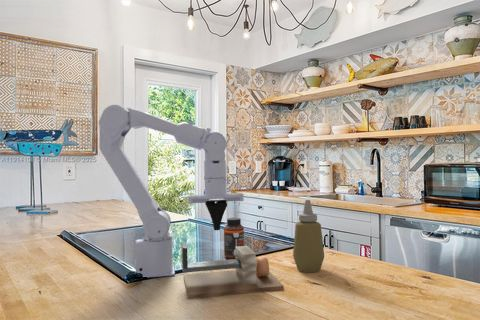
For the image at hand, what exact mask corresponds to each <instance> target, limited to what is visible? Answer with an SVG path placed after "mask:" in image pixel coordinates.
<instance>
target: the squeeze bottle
mask: <svg viewBox="0 0 480 320" xmlns="http://www.w3.org/2000/svg"><path fill="white" fill-rule="evenodd" d="M294 226H295V227H294V228H295V229H294V239H293V250H292V251H293V252H292V257H293V260H294V263H295V267H296V269H297V270H298V271H300V272H304V273H316V272H319V271H321V269H322V266H323V262H324V259H325V248H324V240H323V232H322V224H321V223H320V222H318V214H317V213H314V211H313V207H312V204H311V200H310V199H305V201H304V206H303V211H302V212H301V213H299V214H298V221H297V222H296V223H295V225H294Z"/></svg>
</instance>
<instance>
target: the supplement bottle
mask: <svg viewBox="0 0 480 320" xmlns="http://www.w3.org/2000/svg"><path fill="white" fill-rule="evenodd" d="M238 246H245V228H244V226H243V225H242V224H241V218H240V217H229V218H227V220H226V225H225V226H224V227H223V249H224V250H223V252H224V253H223V254H224V257H225V258H228V259H236V255H235V247H238Z"/></svg>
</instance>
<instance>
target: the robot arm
mask: <svg viewBox="0 0 480 320" xmlns="http://www.w3.org/2000/svg"><path fill="white" fill-rule="evenodd" d="M125 108H126V109H125ZM125 108H124V107H123V106H121V105H119V104H111V105H108V106H107V107H106V108H104V110H103V111H102V113H101V116H100V118H99V120H98V126H99V140H98V141H99V145H98V146H99V147H98V148H99V150H100V152H101V154H102V156H103V158H105V160H106V162H107V164H108V165H109V167H110V168H111V170H112V171H113V173H114V175H115V176H116V177H117V180H118V181H119V183H120V185H121V186H122V188H123V189H124V191H125V192H126V194H127V195H128V197H129V199H130V201H131V202H132V203H133V205H134V207H135V209H137V214H138V216H139V218H140V221H141V222H142V225H143V233H144V235H143V237H142V238H141V239H135V243H134V245H135V246H134V251H135V252H134V256H135V257H134V258H135V259H134V260H135V261H134V270H135V273H136V272H139V273H142V274H143V277H147V278H157V277H158V278H160V277H170V276H175V273H176V272H175V266H174V264H173V261H174V260H173V235H172V234H171V233H170V227H171V222H172V221H171V216H170V215H169V213H168V212H166V211H165V210H164V209H162V208H161V206H160V205H159V204H158V202H157V201H156V200H155V199H154V197H153V196H152V194H151V192H150V191H149V189H148V188H147V186H146V184H145V183H144V182H143V180H142V179H141V177H140V175H139V173H138V171H137V170H136V168H135V167H134V165H133V164H132V162H131V161H130V159H129V158H128V156H127V154H126V152H125V151H124V150H123V147H122V146H123V144H124V140H125V138H126V136H127V134H128V133H129V132H130V131H131V129H134V130H137V129H140V128H147V129H151V130H154V131H158V132H159V133H164V134H167V135H170V136H173V138H174V139H175V141H176V143H178V144H181V145H185V146H187V147H189V148H193V149H196V150H199V151H201V150H202V149H203V150H204V161H203V163H204V164H203V165H204V167H203V169H204V172H203V173H204V175H203V176H204V194H194V195H187V200H188V201H187V203H188V205H192V204H202V203H204V205H205V207H206V209H207V210H208V211H207V212H208V213H209V216H210V219H211V221H212V226H213V230H214V231H221V230H220V229H221V224H222V221H223V217H224V213H225V211H226V210H227V208H228V202H244V200H245V199H244V198H245V197H244V193H242V192H239V193H233V192H232V193H227V160H226V151H225V150H226V149H227V147H228V142H227V140H226V137H225V136H224V135H223V134H222V133H220V132H218V131H217V132H216V131H214V132H211V131H212V129H211V128H209V127H208V128H205V127H201V126H198V125H194V122H193V121H191V120H189V121H188V122H187V121H183V122H180V123H177V124H176V123H174V122H172V121H169V120H167V119H164V118H161V117H159V116H157V115H153V114H151V113H148V112H146V111H143V110H139V109H135V108H132V107H125Z"/></svg>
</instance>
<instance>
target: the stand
mask: <svg viewBox="0 0 480 320" xmlns="http://www.w3.org/2000/svg"><path fill="white" fill-rule="evenodd" d="M235 255H236V259H239V261H240V262H241V268H235V269H234V270H223V271H222V270H221V271H209V272H199V273H187V274H183V281H184V286H185V289H186V290H185V291H186V295H187V299H197V298H198V299H200V298H208V297H219V296H228V295H229V296H230V295H237V294H250V293H260V292H268V291H269V292H270V291H280V290H284V289H285V286H284V284H283V283H281V281H280V280H279V279H278V278H276V276H275V275H274V274H273V273H272V272H271V271H270V270H269V275H268V276H265V277H257V276H256V258H257V257H256V253H255V252H254V251H253V250H252V249H251V248H250V247H249V246H248V245H244V246H238V247H235Z"/></svg>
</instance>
